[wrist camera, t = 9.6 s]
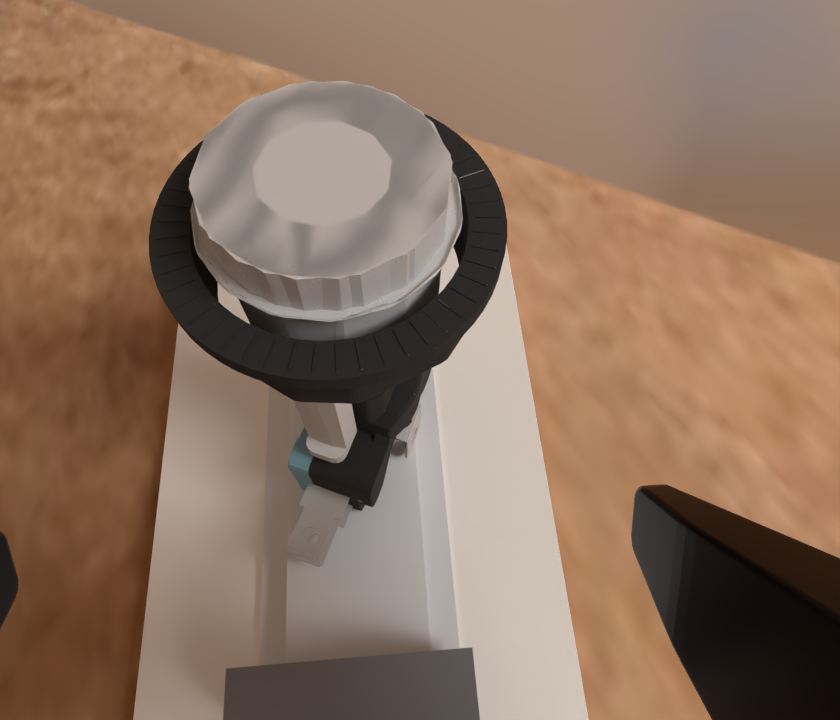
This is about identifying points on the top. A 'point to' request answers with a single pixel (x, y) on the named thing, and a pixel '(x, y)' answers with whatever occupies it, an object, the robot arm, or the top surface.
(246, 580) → the rail board
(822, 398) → the top surface
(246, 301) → the push button
